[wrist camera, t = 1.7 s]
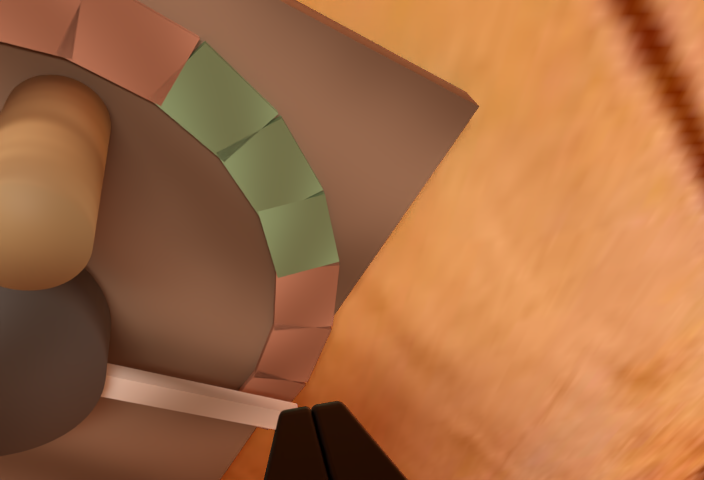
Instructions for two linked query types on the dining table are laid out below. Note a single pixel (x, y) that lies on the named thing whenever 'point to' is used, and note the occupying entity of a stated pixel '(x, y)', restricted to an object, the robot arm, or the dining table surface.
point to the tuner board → (225, 201)
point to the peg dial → (69, 279)
